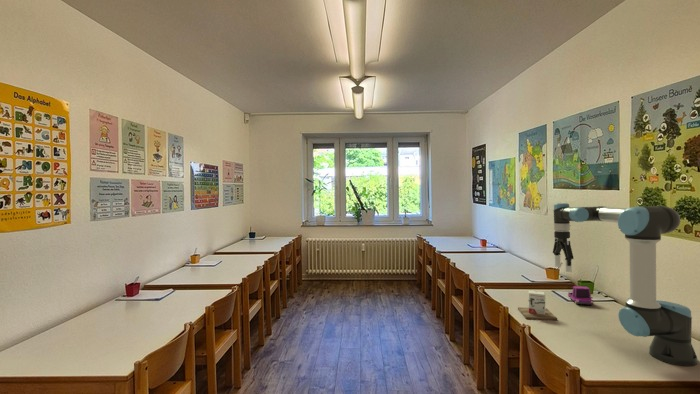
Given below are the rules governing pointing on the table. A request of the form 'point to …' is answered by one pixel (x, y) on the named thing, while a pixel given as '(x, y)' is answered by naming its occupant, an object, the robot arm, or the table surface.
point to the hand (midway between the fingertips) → (562, 269)
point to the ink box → (536, 302)
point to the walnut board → (528, 315)
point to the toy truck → (581, 295)
